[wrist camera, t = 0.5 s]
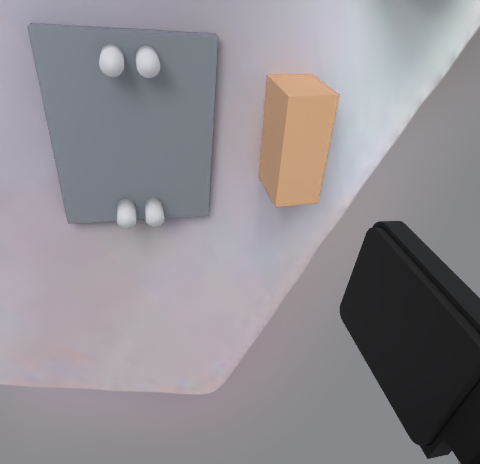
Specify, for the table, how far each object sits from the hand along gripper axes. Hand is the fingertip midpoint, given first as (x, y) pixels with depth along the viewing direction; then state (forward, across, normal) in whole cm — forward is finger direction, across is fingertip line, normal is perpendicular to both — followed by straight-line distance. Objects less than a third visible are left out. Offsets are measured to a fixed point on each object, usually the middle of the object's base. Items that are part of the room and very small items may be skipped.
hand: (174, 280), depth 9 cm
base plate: (+34, +1, +10) cm, 36 cm away
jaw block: (+35, -16, +9) cm, 39 cm away
